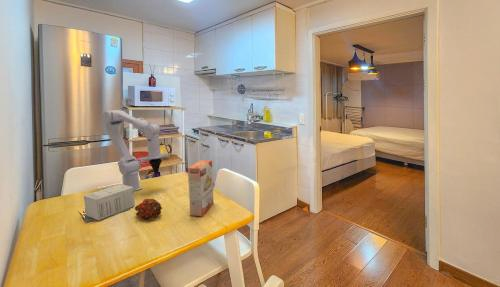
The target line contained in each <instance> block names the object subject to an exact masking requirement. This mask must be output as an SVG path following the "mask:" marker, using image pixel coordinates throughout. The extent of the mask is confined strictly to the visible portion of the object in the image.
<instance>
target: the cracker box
mask: <svg viewBox="0 0 500 287" xmlns="http://www.w3.org/2000/svg"><path fill="white" fill-rule="evenodd" d="M187 177H188V178H187V179H188V180H187V181H188V197H189V213H190V216H192V217H203V216H205V214H206V213H207V212H208V211H209V209H210V208H211V207H212V206H213V205H214V182H213V181H214V180H213V179H214V178H213V160H210V159H209V160H208V159H200V160H198V161H197V162H195V163H193V164H192V165H190V166H189V167H188V168H187Z"/></svg>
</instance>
